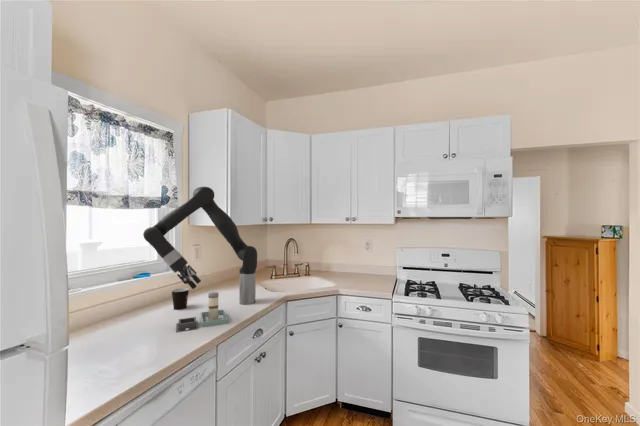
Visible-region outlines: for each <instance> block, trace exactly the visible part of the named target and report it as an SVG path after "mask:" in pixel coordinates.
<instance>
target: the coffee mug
mask: <svg viewBox="0 0 640 426" xmlns="http://www.w3.org/2000/svg"><path fill="white" fill-rule="evenodd" d="M189 291H190V288H187V287H178V288H174V289H172V290H171V295H172V304H173V305H172V306H173V310H175V311H180V310H181V311H182V310H185V309H186V308H188V307H187V305H188V300H189V299H188V298H189Z"/></svg>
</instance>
